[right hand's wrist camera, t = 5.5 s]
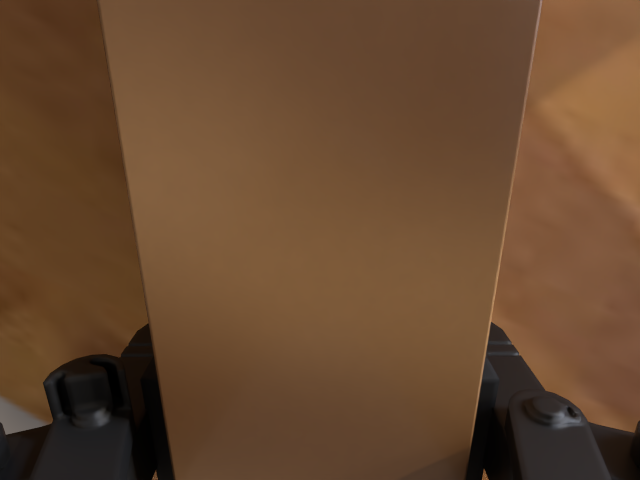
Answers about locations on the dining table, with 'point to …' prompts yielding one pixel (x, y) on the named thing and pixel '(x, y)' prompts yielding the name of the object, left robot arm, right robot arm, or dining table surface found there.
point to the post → (319, 223)
